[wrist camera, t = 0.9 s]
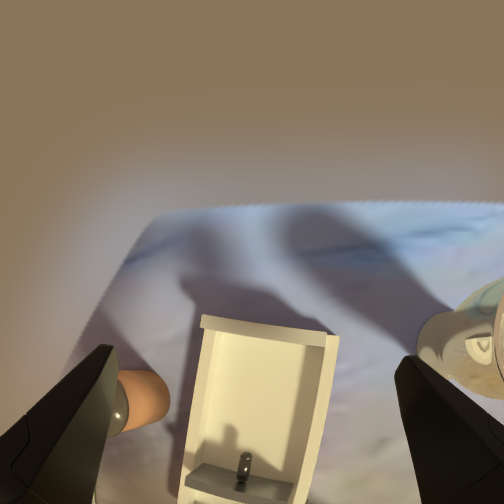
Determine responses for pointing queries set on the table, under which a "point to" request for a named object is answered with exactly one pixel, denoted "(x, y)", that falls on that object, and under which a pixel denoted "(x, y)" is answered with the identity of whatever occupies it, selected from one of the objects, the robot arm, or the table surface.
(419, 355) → the beer glass
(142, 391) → the terracotta jar
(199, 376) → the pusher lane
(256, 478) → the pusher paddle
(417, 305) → the table surface
